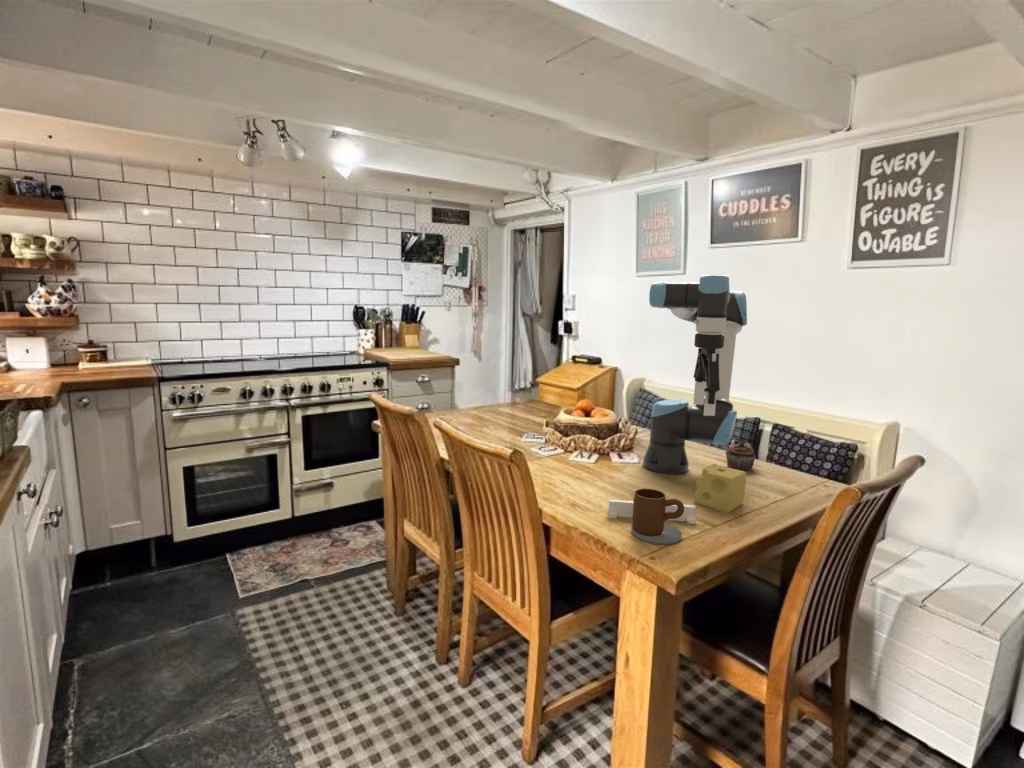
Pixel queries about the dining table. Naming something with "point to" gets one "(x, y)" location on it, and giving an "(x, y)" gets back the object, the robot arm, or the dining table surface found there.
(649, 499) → the mug
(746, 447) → the cupcake
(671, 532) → the disc
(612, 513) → the rail
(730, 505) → the cheese
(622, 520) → the dining table surface
